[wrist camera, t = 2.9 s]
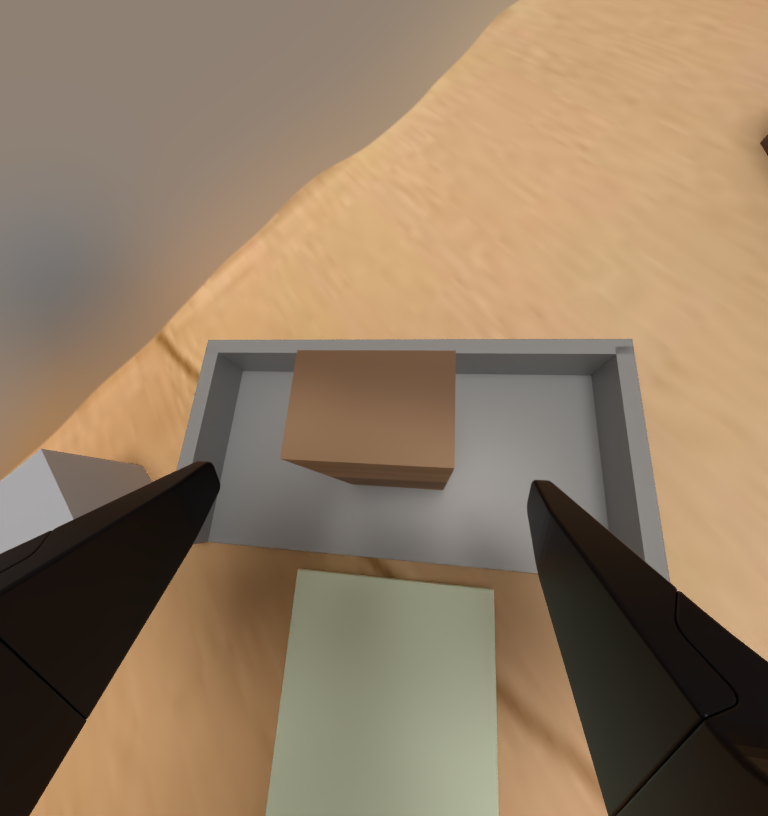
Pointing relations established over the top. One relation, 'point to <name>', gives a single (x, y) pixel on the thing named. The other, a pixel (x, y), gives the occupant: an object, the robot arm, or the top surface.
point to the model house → (765, 144)
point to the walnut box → (373, 416)
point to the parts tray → (474, 454)
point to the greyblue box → (59, 492)
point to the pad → (387, 700)
